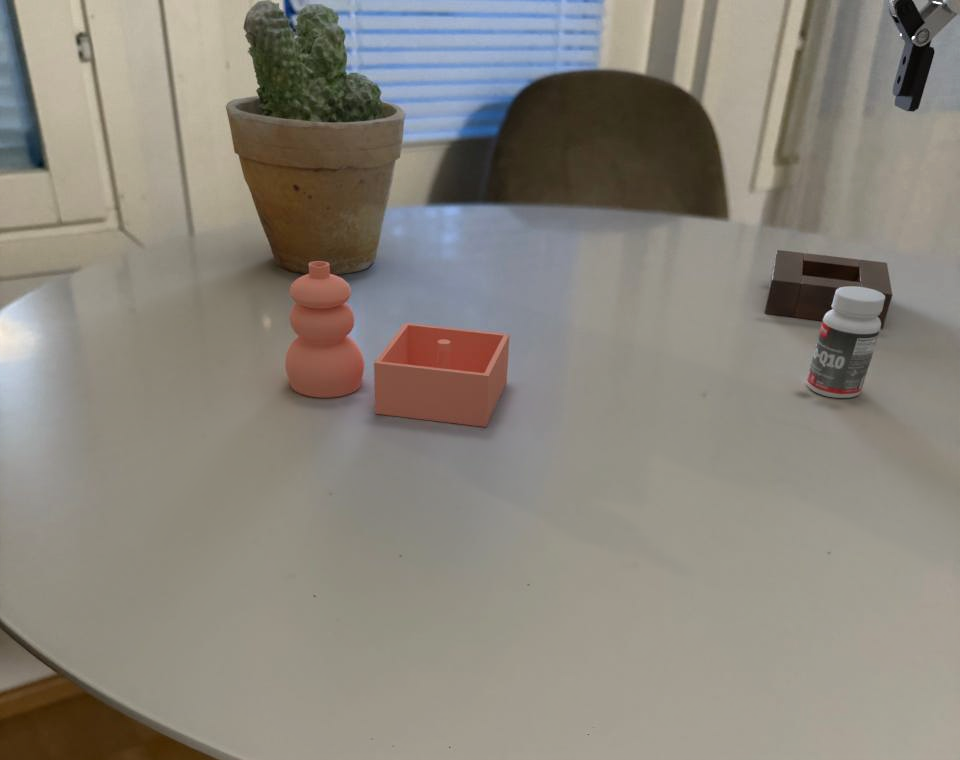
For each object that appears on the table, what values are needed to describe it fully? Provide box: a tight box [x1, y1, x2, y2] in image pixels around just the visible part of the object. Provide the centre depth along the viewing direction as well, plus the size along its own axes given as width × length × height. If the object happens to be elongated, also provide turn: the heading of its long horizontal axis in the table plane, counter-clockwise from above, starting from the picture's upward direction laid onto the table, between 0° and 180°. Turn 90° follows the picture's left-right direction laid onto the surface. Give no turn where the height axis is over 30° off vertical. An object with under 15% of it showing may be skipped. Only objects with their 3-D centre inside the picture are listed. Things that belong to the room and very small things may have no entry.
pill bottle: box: [806, 286, 885, 399], centre depth 82 cm, size 5×5×8 cm
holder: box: [764, 249, 893, 330], centre depth 103 cm, size 12×12×4 cm
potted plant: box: [225, 0, 407, 276], centre depth 101 cm, size 18×19×25 cm
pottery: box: [284, 261, 510, 428], centre depth 77 cm, size 18×10×10 cm, turn 79°
